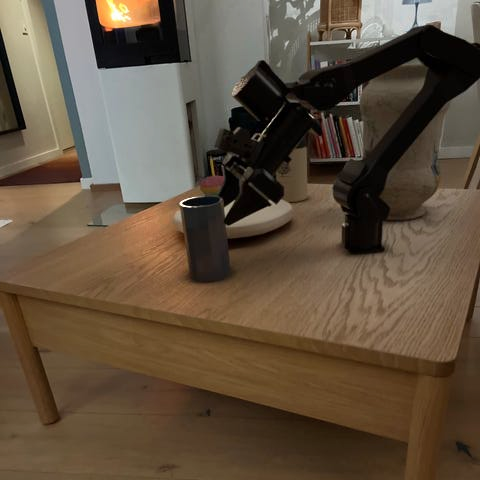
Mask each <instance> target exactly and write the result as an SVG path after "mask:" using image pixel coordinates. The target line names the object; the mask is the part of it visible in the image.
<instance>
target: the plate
mask: <svg viewBox="0 0 480 480" xmlns="http://www.w3.org/2000/svg"><path fill="white" fill-rule="evenodd" d="M234 202H235V200H234V201H233V202H232V203H230V204H229V205H227V206H226V207H224V212H225V217H226V215H227V213H228V212H229V210H230V208H231V207H232V205H233V203H234ZM268 202H269V203H271V204H272V205H271V206H270V207H269V206H268V207H266V208H264V209H261V210H259V211H257V212H255V213H253V214H251V215H249V216H247V217H245V218H243V219H241V220H239V221H237V222H235V223H234V224H232V225H230V226H227V225H226V232H227V239H239V238H249V237H254V236H259V235H264V234H266V233H269V232H272V231H274V230H276V229H278V228H280V227H282V226H284V225H286V224H287V223H289V222H290V221H291V220H292V218H293V216H294V210H293V206H292V203H290V202H286V201H284V200H280V201H279V203H278V204H277V205H276V204H275V203H273V202H272V201H271V200H269V201H268ZM172 224H173V227H174V228H175V230H177V231H178V232H179V233H182V234H184V232H183V225H182V218H181V211H180V209H178V210H177V211H176V212H174V214H173V217H172Z"/></svg>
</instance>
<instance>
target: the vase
mask: <svg viewBox="0 0 480 480" xmlns="http://www.w3.org/2000/svg"><path fill="white" fill-rule="evenodd" d="M428 69H429V68H427V67H425V66H424V65H423V64H422V63H421V62H419V63H405V64H403V65H401V66H399V67H396V68H394V69H392V70H390V71H388V72H386V73H384V74H382V75H380V76H378V77H376V78H374V79H372V80H370V82H369V83H368V84H367V85H366V86H365V87H364V88H363V90H362V91H361V93H360V95H359V104H358V106H359V111H360V114H361V115H362V123H363V125H362V157H361V160H362V159H364V158H366V157H367V156H368V155H369V153H370V152H371V151H372V150H373V148H374V147H375V146H376V145H377V144H378V142H379V141H380V140H381V139H382V137H383V136H384V135H385V134H386V132H387V131H388V130H389V129H390V127H391V126H392V125H393V124H394V123H395V121H396V120H397V119H398V118H399V116H400V115H401V114H402V113H403V111H404V110H405V109H406V108H407V106H408V105H409V104H410V103H411V101H412V100H413V99H414V98H415V97H416V95H417V94H418V93H419V92H420V90H421V89H422V87H423V85H424V81H425V77H426V73H427V71H428ZM452 101H453V99H452V100H450V101H449V102H447V103H446V104H445V105H444V106H443V108H442V109H441V110H440V111H439V112H438V114H437V115H436V116H435V117H434V118H433V120H432V121H431V122H430V123H429V124H428V126H427V127H426V128H425V129H424V131H423V132H422V133H421V134H420V135H419V137H418V138H417V139H416V140H415V141H414V143H413V144H412V145H411V146H410V147H409V149H408V150H407V151H406V152H405V154H404V155H403V156H402V157H401V158H400V160H399V161H398V162H397V163H396V164H395V166H394V167H393V168H392V169H391V170H390V172H389V174H388V177H387V180H386V184H385V188H384V190H383V192H382V194H381V195H380V198H381V199H382V200H383V201H384V202H385V203H386V204H387V205H388V206H389V207H390V211H389V214H388V217H387V219H386V221H406V220H414V219H416V218H419V217H421V216H424V215H425V213H426V209H425V208H424V207H423V206H422V205H423V204H424V203H426V202H427V201H429V200H430V199H431V198H432V197H433V196H434V195H435V193H436V192H437V191H438V188H439V186H440V183H441V180H442V179H441V177H442V175H441V174H442V173H441V167H440V164H439V153H440V152H439V151H440V145H441V144H440V143H441V137H442V134H443V127H444V120H445V117H446V114H447V111H449V109H450V107H451V103H452Z"/></svg>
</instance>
